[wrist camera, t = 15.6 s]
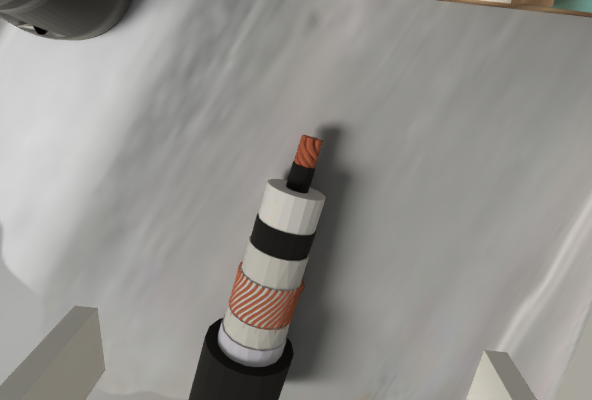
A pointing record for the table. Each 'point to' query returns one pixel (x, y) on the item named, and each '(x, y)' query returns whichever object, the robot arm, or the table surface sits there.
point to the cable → (264, 292)
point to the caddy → (539, 5)
